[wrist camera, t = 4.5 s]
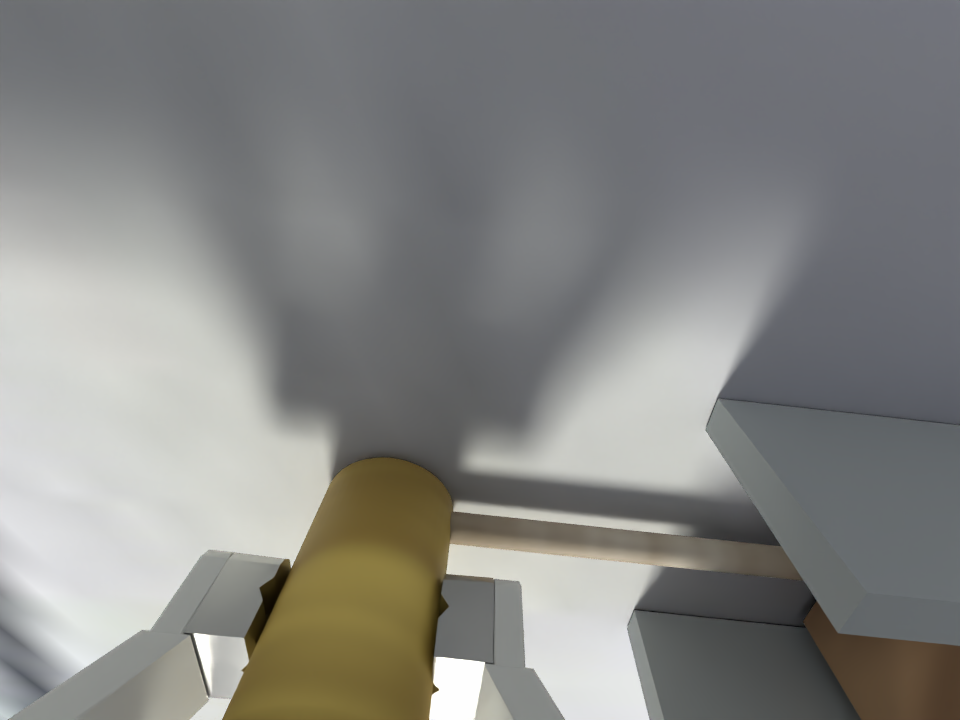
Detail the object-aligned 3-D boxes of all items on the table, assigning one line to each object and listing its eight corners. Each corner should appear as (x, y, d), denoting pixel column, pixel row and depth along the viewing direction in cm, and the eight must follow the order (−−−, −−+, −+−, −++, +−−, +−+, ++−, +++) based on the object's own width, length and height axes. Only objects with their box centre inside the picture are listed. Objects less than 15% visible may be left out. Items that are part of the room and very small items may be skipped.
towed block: (321, 413, 10) (183, 645, 6) (1123, 500, 10) (1585, 787, 6) (330, 572, 12) (236, 828, 8) (987, 640, 13) (1249, 923, 8)
